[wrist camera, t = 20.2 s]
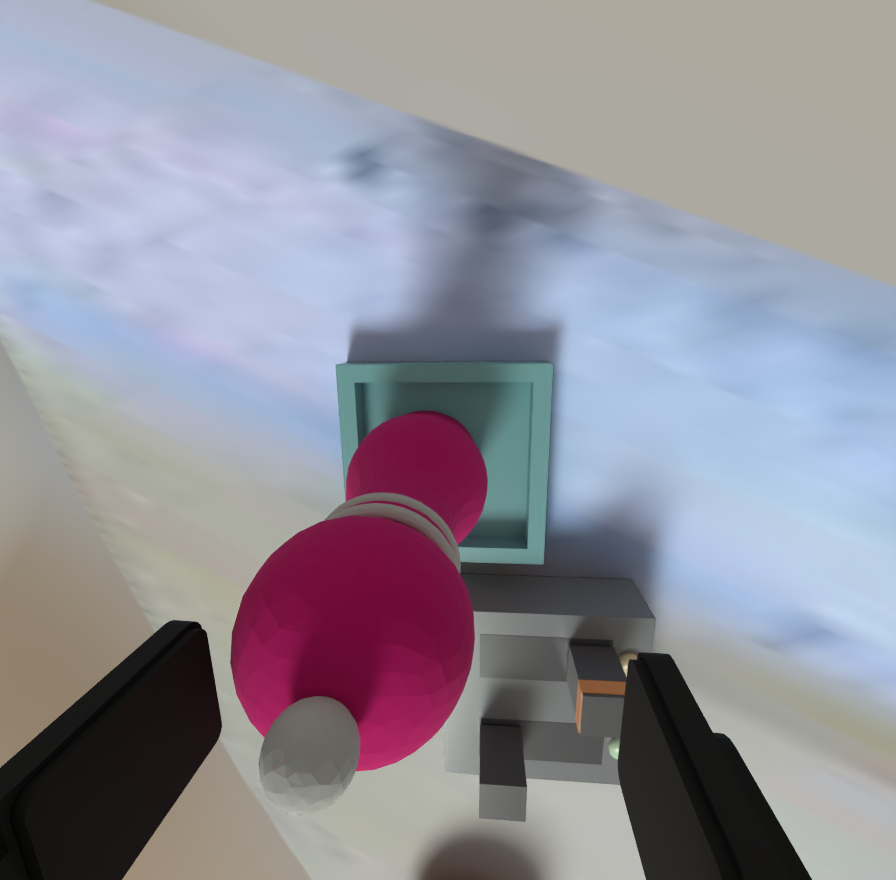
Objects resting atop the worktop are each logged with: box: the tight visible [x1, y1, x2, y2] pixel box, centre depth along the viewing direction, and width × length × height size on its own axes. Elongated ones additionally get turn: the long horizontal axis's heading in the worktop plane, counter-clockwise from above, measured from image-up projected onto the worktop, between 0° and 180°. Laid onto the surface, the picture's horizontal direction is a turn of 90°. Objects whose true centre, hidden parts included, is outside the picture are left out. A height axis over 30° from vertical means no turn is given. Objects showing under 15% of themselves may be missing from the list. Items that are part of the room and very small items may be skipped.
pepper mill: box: [230, 410, 488, 816], centre depth 17 cm, size 7×7×20 cm
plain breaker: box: [479, 725, 527, 822], centre depth 25 cm, size 2×2×4 cm
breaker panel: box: [444, 574, 656, 785], centre depth 28 cm, size 12×12×4 cm
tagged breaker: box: [567, 645, 627, 738], centre depth 23 cm, size 3×2×4 cm
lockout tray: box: [336, 361, 553, 565], centre depth 26 cm, size 12×12×2 cm
